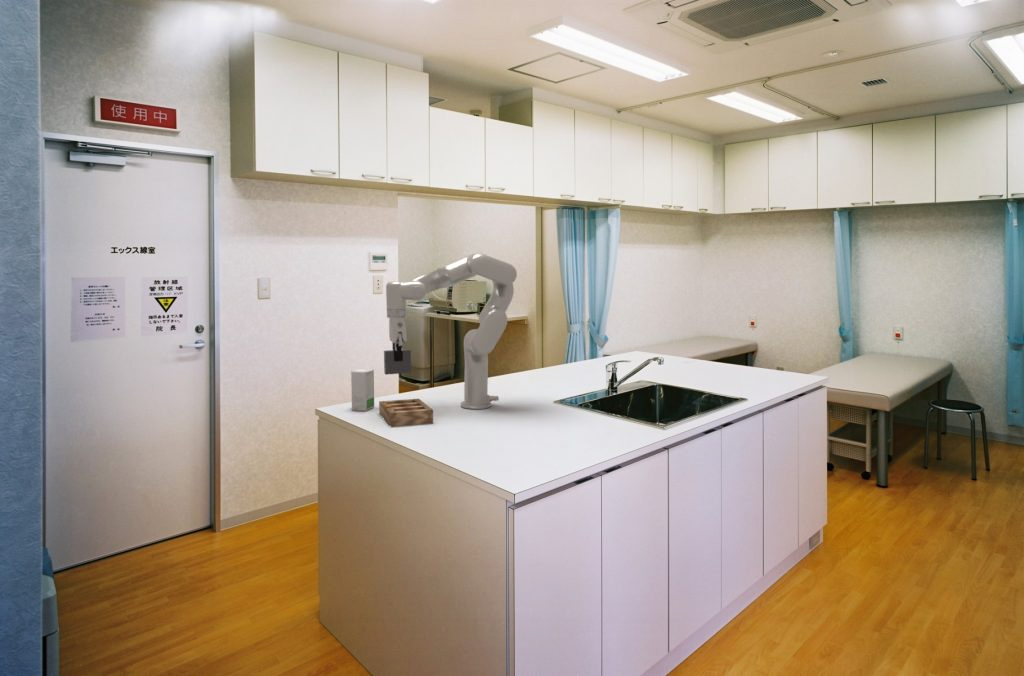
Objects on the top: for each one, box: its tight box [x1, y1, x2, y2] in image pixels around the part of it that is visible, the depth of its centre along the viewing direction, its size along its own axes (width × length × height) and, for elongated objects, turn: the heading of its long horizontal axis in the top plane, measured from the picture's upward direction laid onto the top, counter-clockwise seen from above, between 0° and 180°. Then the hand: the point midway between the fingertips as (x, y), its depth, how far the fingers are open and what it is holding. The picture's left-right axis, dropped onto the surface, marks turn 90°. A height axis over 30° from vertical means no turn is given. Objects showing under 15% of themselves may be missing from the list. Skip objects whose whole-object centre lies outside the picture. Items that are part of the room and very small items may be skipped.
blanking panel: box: [383, 348, 412, 375], centre depth 239 cm, size 10×2×9 cm, turn 113°
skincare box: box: [350, 368, 375, 412], centre depth 242 cm, size 8×7×16 cm
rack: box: [378, 398, 434, 428], centre depth 228 cm, size 16×20×6 cm
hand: (397, 360), depth 239 cm, fingers closed on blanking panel, 2 cm apart
